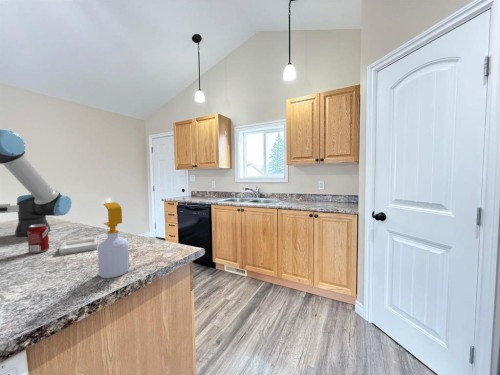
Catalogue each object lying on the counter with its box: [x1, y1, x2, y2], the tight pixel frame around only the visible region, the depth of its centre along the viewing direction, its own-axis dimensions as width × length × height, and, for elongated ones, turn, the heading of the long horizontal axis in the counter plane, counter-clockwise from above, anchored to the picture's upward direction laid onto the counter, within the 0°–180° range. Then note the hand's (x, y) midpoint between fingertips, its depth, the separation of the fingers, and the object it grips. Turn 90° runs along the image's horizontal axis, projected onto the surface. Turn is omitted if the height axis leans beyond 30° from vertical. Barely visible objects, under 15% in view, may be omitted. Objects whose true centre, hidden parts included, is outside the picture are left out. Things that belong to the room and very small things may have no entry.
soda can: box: [27, 224, 50, 254], centre depth 101 cm, size 7×7×12 cm
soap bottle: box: [97, 201, 130, 279], centre depth 78 cm, size 9×9×25 cm
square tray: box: [58, 236, 99, 256], centre depth 106 cm, size 13×13×2 cm
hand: (14, 207), depth 95 cm, fingers open, 13 cm apart
